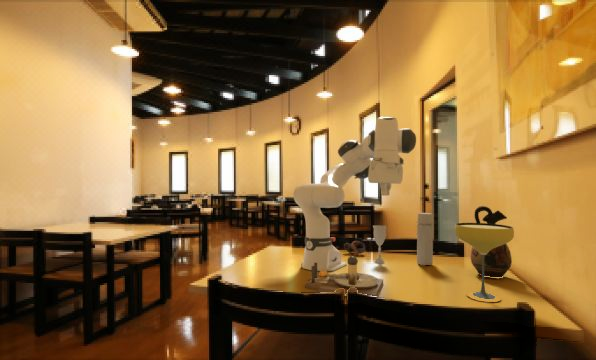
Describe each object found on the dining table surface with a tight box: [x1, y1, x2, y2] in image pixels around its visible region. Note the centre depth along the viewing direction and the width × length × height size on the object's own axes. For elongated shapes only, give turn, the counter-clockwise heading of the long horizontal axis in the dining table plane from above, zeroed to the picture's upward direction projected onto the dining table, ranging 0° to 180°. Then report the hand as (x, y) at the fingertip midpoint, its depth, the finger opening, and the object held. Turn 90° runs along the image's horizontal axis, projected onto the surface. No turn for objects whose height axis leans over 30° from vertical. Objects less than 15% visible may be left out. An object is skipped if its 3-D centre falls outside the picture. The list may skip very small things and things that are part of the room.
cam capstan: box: [318, 255, 379, 289], centre depth 129 cm, size 17×22×11 cm
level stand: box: [304, 263, 384, 297], centre depth 130 cm, size 20×26×8 cm
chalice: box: [372, 225, 387, 265], centre depth 172 cm, size 7×7×18 cm
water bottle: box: [416, 212, 434, 266], centre depth 169 cm, size 9×8×25 cm
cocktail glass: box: [454, 222, 515, 299], centre depth 120 cm, size 18×18×25 cm
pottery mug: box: [343, 240, 366, 257], centre depth 192 cm, size 12×10×8 cm
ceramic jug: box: [470, 205, 513, 277], centre depth 148 cm, size 17×15×30 cm
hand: (385, 195), depth 130 cm, fingers closed
